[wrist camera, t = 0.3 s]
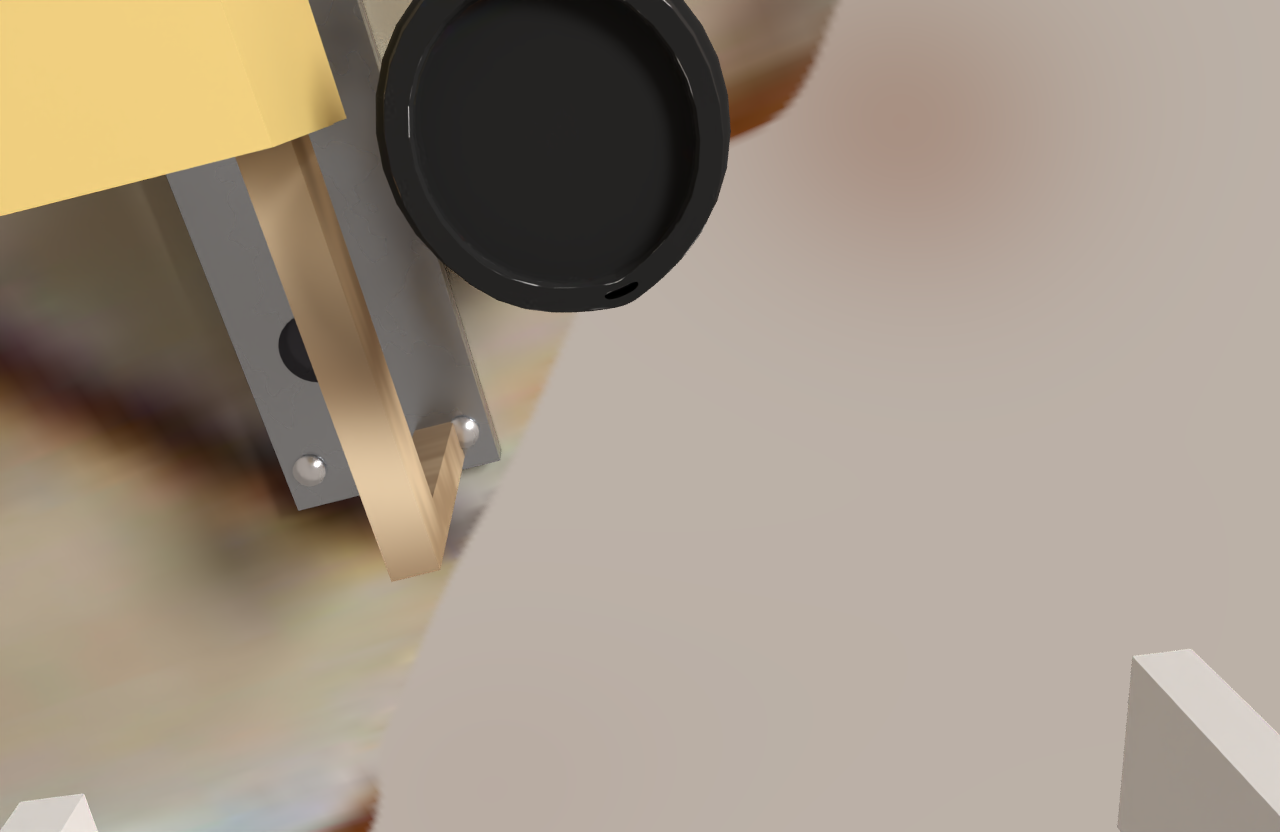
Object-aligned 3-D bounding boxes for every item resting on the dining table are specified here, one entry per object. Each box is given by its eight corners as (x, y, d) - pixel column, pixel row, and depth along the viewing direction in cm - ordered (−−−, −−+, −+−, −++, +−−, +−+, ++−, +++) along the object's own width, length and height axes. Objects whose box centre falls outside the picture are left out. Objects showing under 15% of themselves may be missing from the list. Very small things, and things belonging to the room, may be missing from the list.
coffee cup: (499, 258, 38) (465, 387, 24) (390, 33, 35) (280, 27, 21) (710, 165, 37) (802, 241, 23) (617, -72, 34) (660, -149, 20)
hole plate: (-49, -405, 30) (-73, -422, 29) (216, -474, 30) (202, -494, 29) (304, 499, 41) (296, 513, 39) (501, 450, 41) (499, 462, 39)
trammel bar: (19, -419, 29) (-215, -620, 20) (194, -465, 29) (36, -686, 20) (353, 484, 39) (294, 613, 31) (483, 451, 39) (462, 571, 30)
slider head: (123, -2, 33) (-195, -33, 19) (337, -56, 33) (175, -128, 19) (183, 155, 34) (-67, 233, 21) (387, 104, 34) (273, 147, 21)
